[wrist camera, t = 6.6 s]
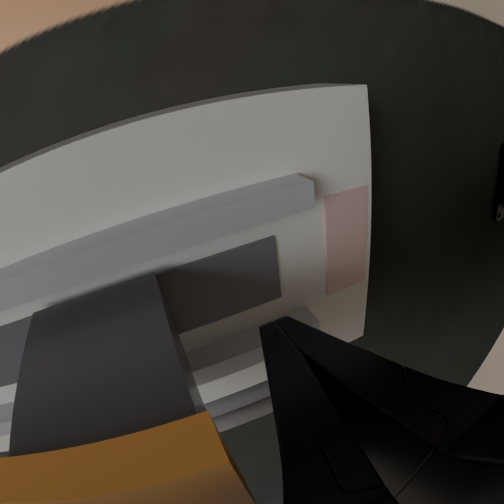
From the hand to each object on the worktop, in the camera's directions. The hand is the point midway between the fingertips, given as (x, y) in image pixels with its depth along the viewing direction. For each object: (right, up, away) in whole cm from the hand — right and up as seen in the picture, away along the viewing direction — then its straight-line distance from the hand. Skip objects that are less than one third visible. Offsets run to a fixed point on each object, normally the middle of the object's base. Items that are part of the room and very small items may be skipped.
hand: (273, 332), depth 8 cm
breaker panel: (-6, +1, +4) cm, 7 cm away
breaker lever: (-5, 0, +1) cm, 5 cm away
